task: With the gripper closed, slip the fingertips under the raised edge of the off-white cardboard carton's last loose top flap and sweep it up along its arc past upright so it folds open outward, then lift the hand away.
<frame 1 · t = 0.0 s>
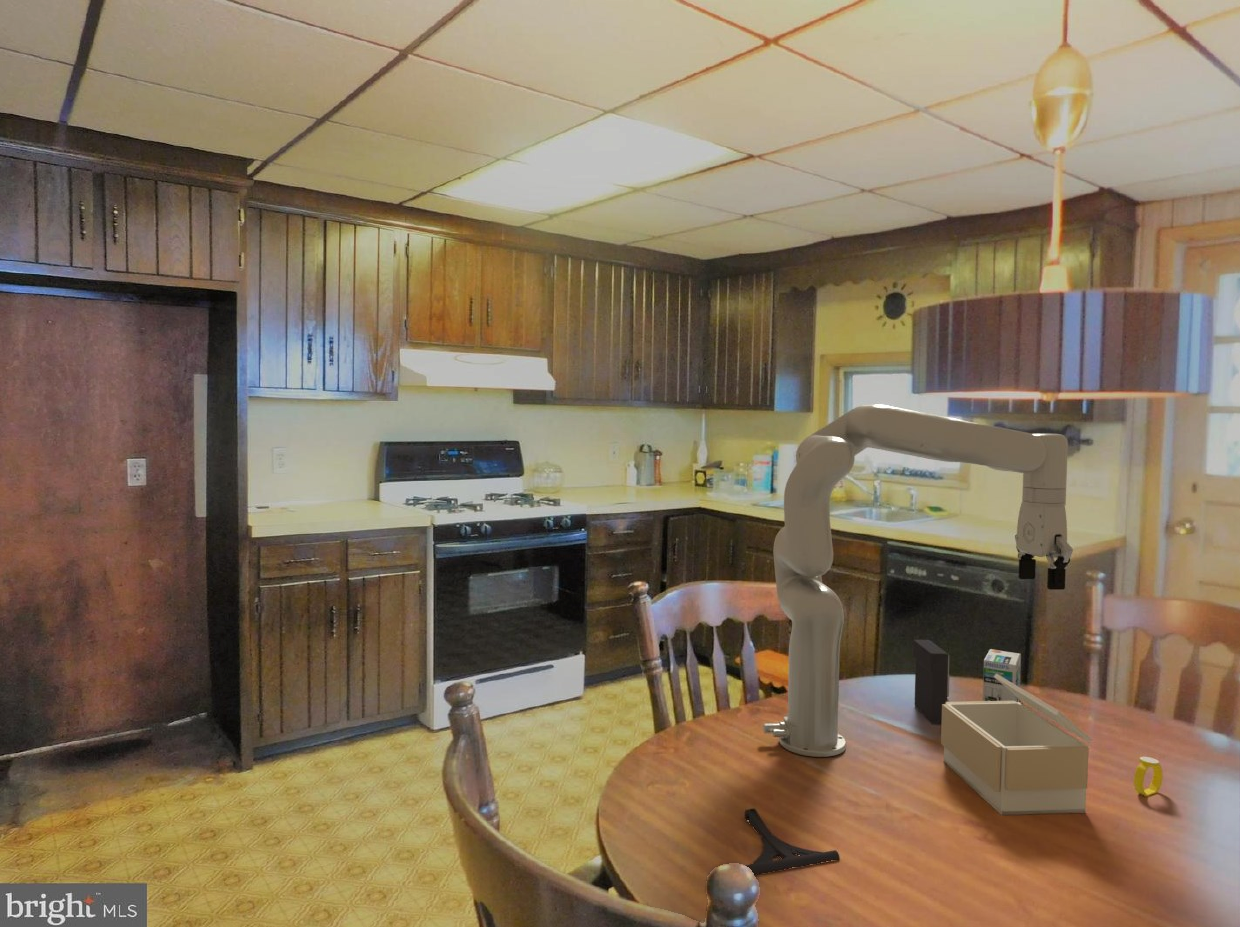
hand: (1040, 583, 157), 31 cm above the table, tool pointing down, fingers open, 9 cm apart
black squeegee: (770, 847, 121), on the table
light bulb box: (1001, 704, 179), on the table
carton: (1009, 785, 139), on the table
black rectangular block: (930, 716, 172), on the table
watch: (1147, 794, 137), on the table
carton flap: (1039, 705, 139), point 14 cm above the table, hinge at 40.0°
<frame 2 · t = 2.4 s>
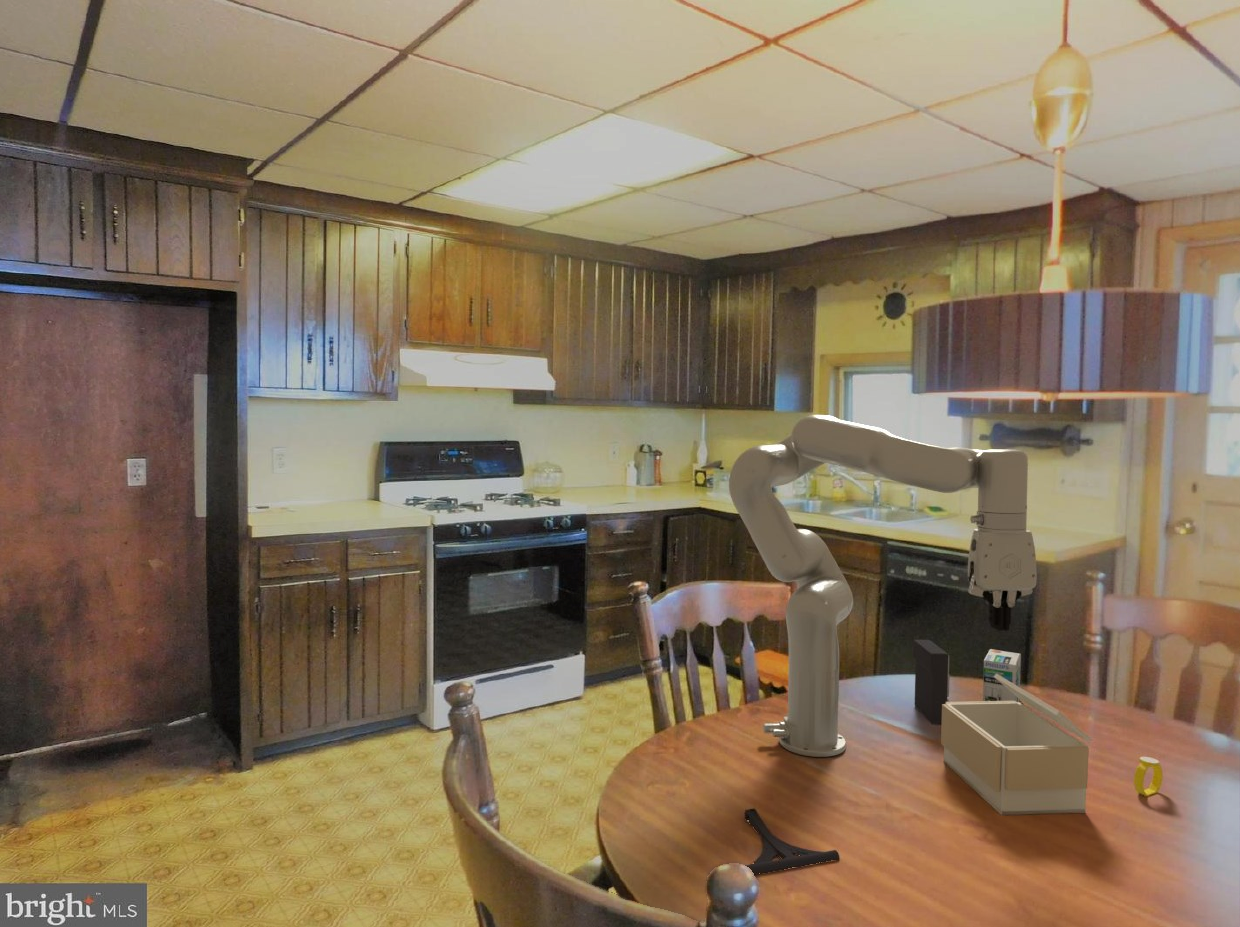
hand: (999, 628, 137), 28 cm above the table, tool pointing down, fingers closed
nothing on the table moved.
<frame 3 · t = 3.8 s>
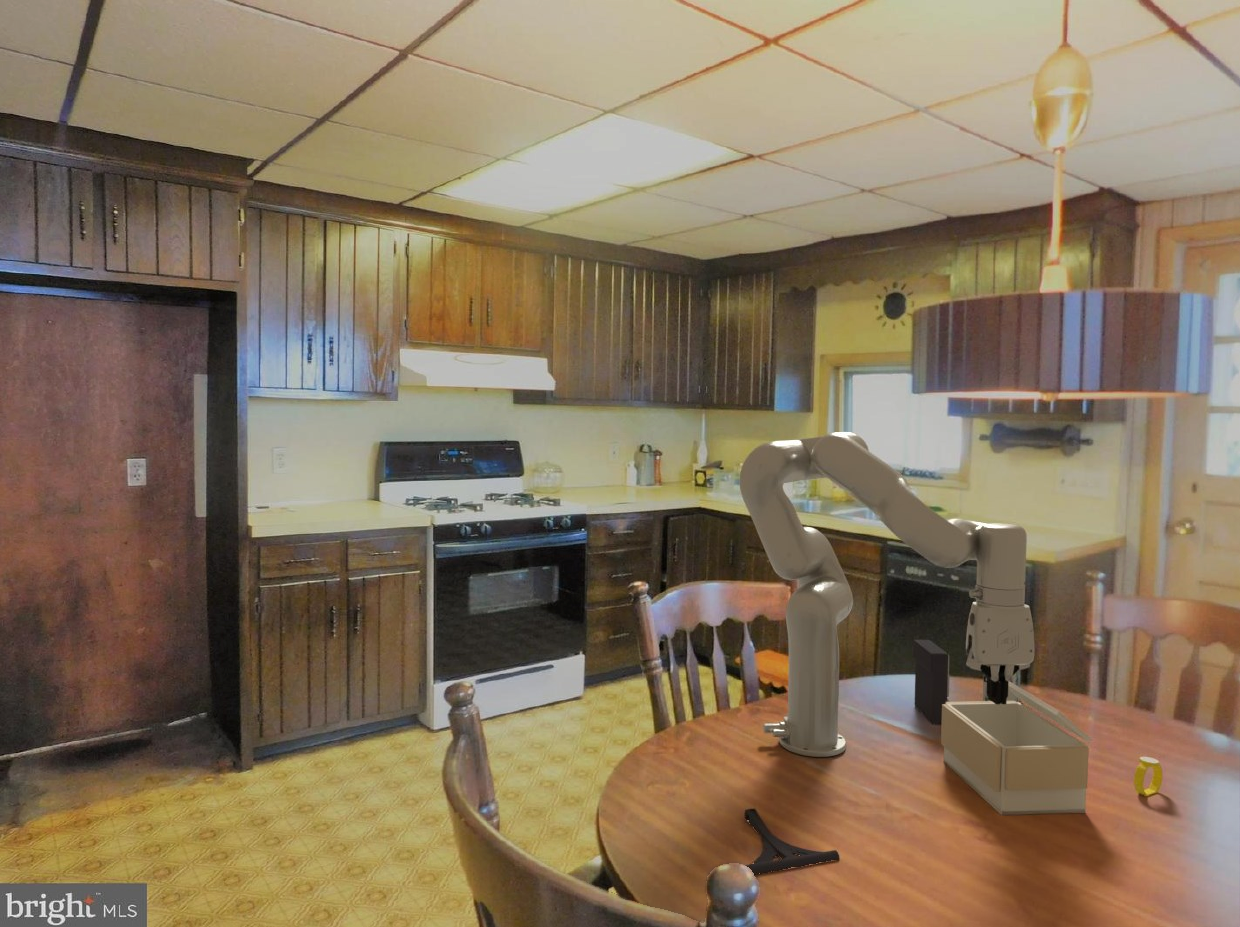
hand: (996, 701, 138), 15 cm above the table, tool pointing down, fingers closed
nothing on the table moved.
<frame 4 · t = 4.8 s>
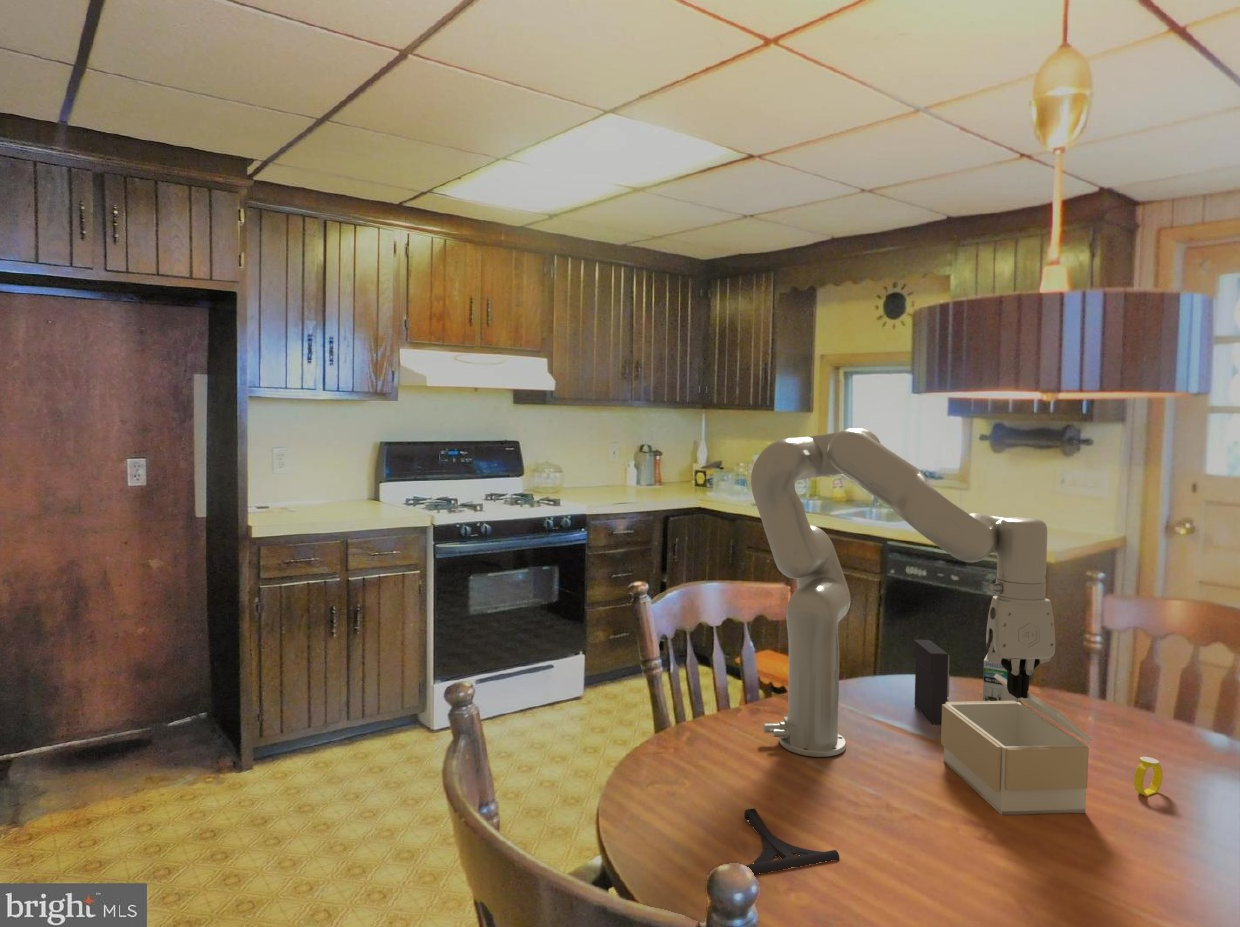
hand: (1017, 695, 138), 16 cm above the table, tool pointing down, fingers closed
carton flap: (1039, 705, 139), point 14 cm above the table, hinge at 40.0°, touching gripper
everything else where it was.
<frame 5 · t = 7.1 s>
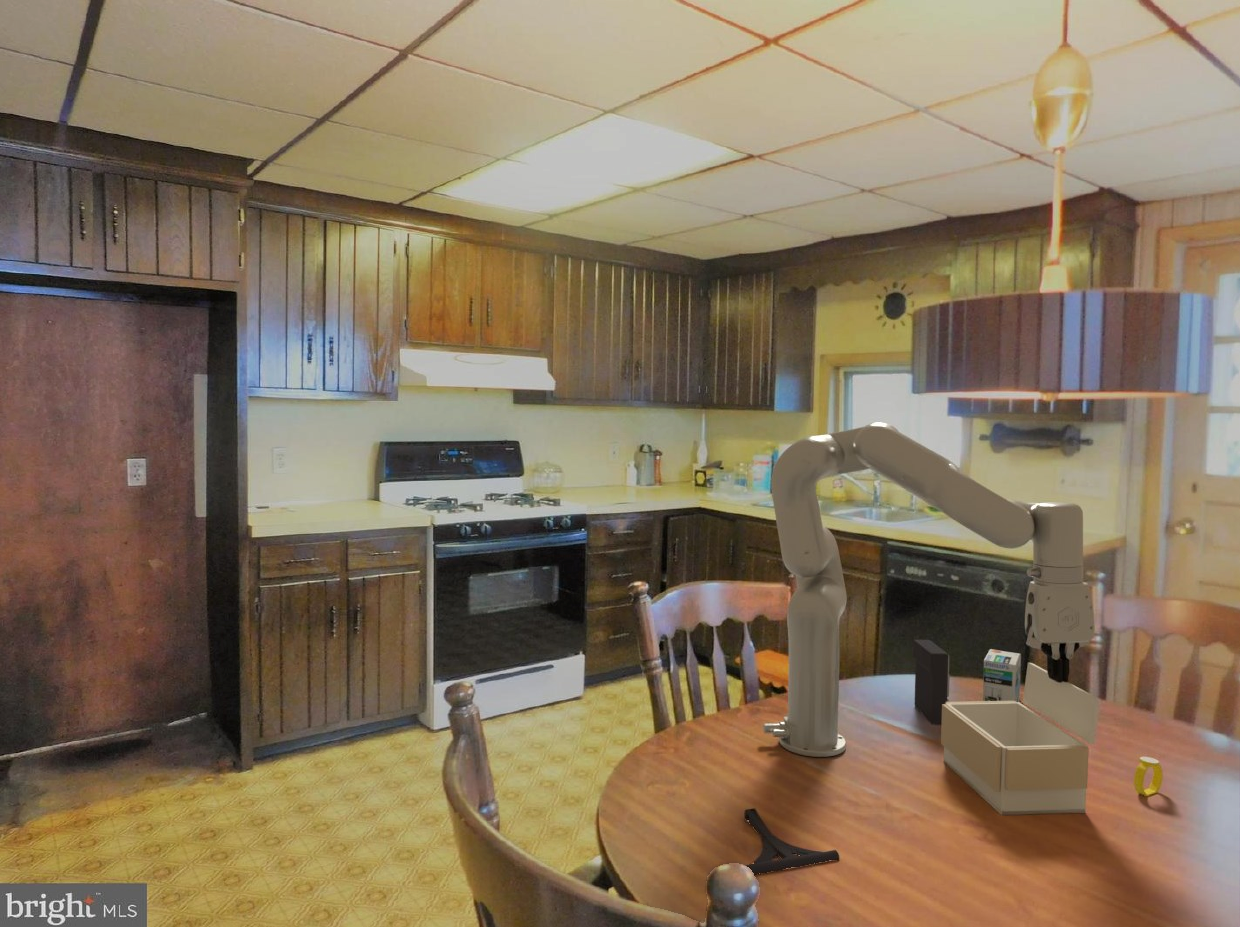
hand: (1058, 679, 139), 19 cm above the table, tool pointing down, fingers closed
carton flap: (1058, 700, 139), point 15 cm above the table, hinge at 96.2°, touching gripper
everything else where it was.
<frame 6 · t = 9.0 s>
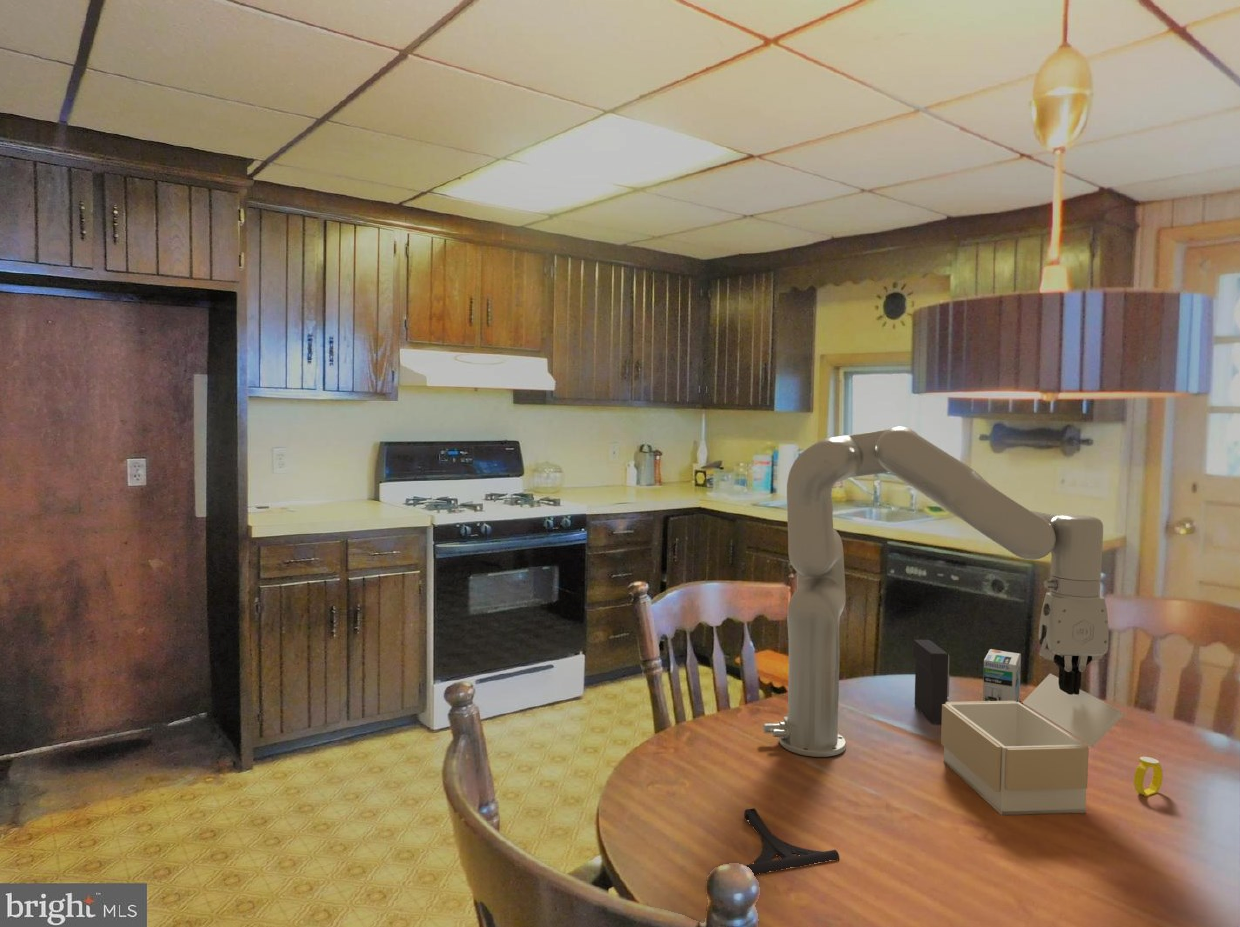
hand: (1069, 691, 139), 16 cm above the table, tool pointing down, fingers closed
carton flap: (1069, 707, 139), point 14 cm above the table, hinge at 133.7°
everything else where it was.
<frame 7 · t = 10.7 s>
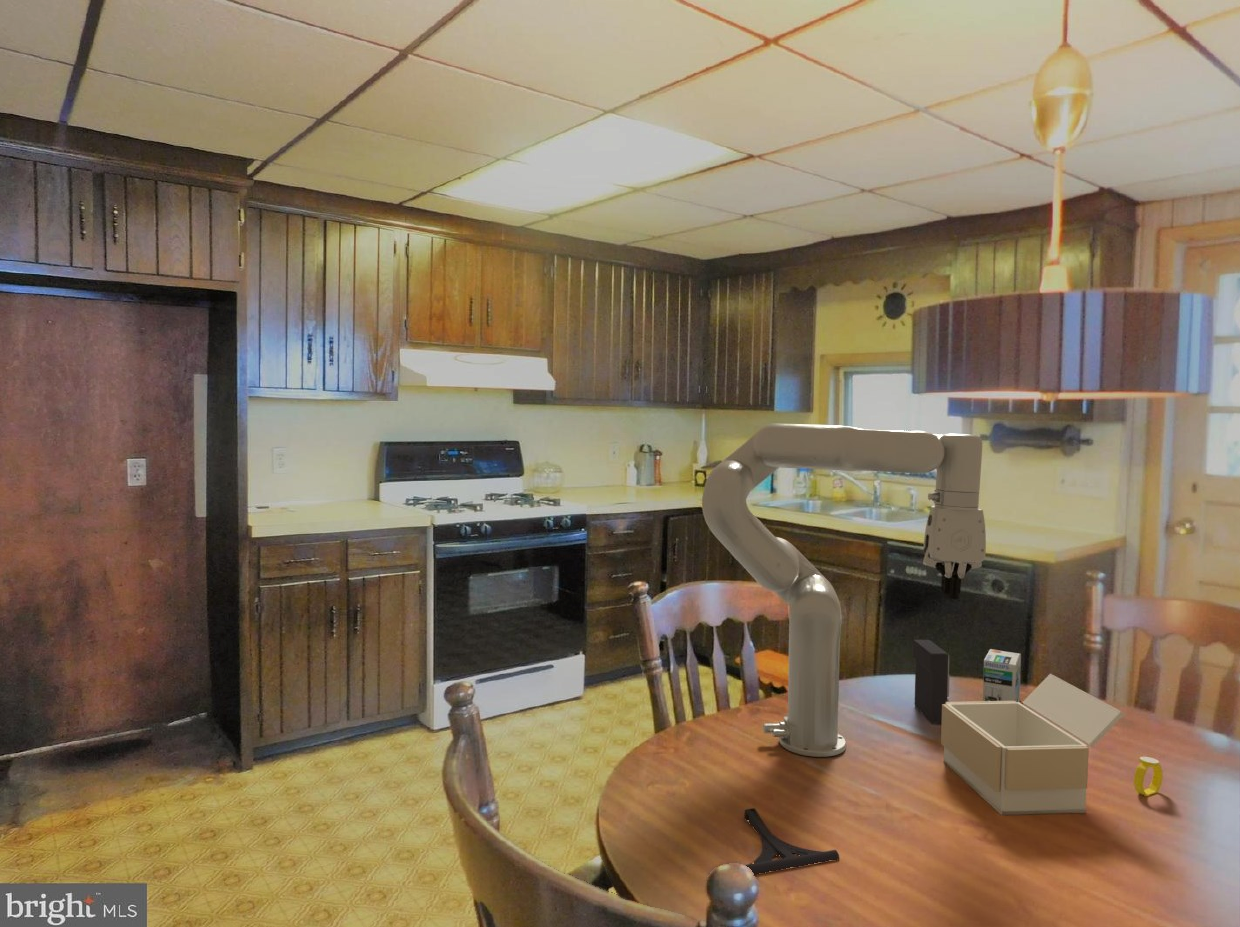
hand: (950, 597, 150), 30 cm above the table, tool pointing down, fingers closed
carton flap: (1069, 707, 139), point 14 cm above the table, hinge at 134.1°
everything else where it was.
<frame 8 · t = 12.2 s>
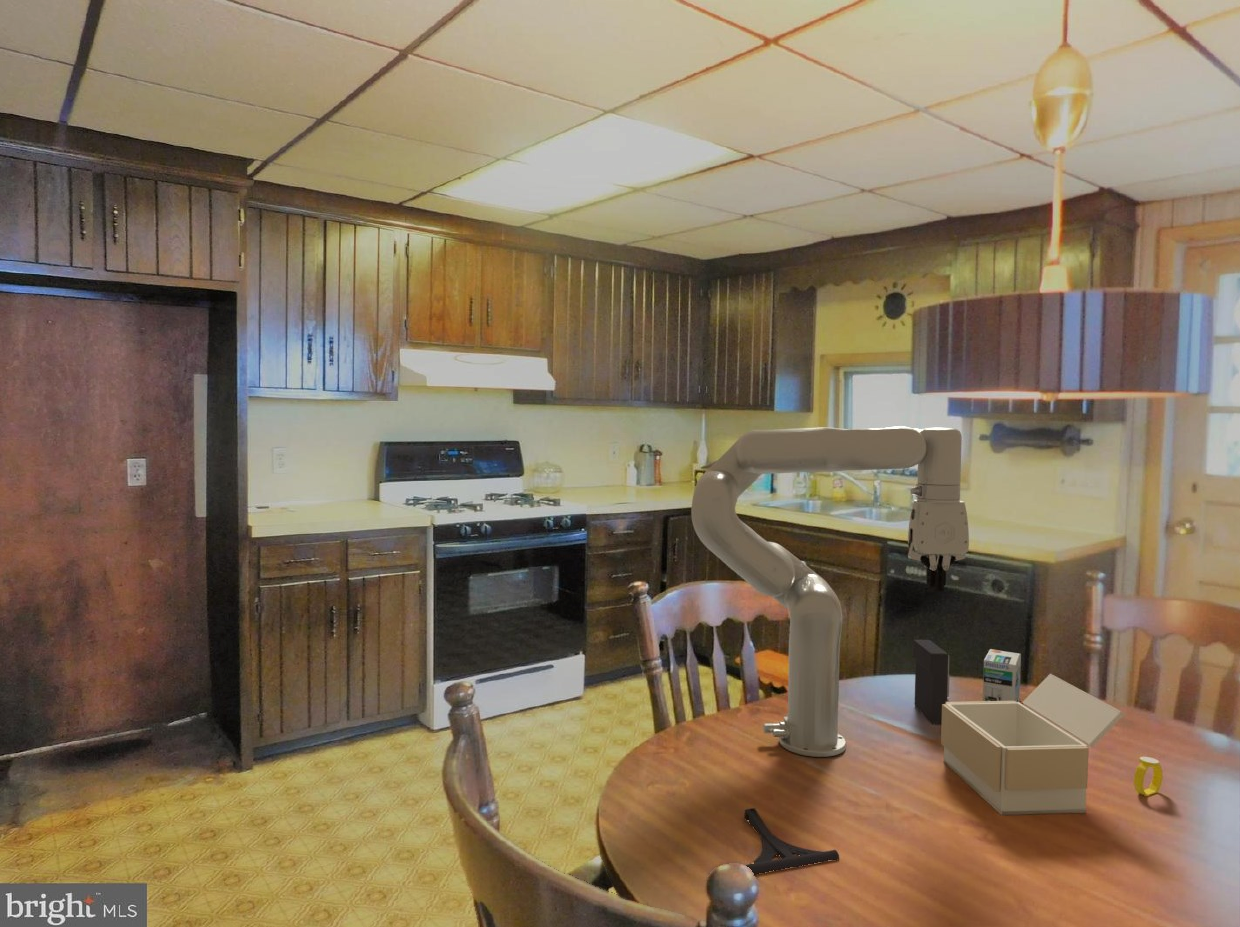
hand: (935, 589, 152), 31 cm above the table, tool pointing down, fingers closed
nothing on the table moved.
at the end: carton flap at +134° (first picture: +40°); watch moved 0.2 cm from its start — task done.
